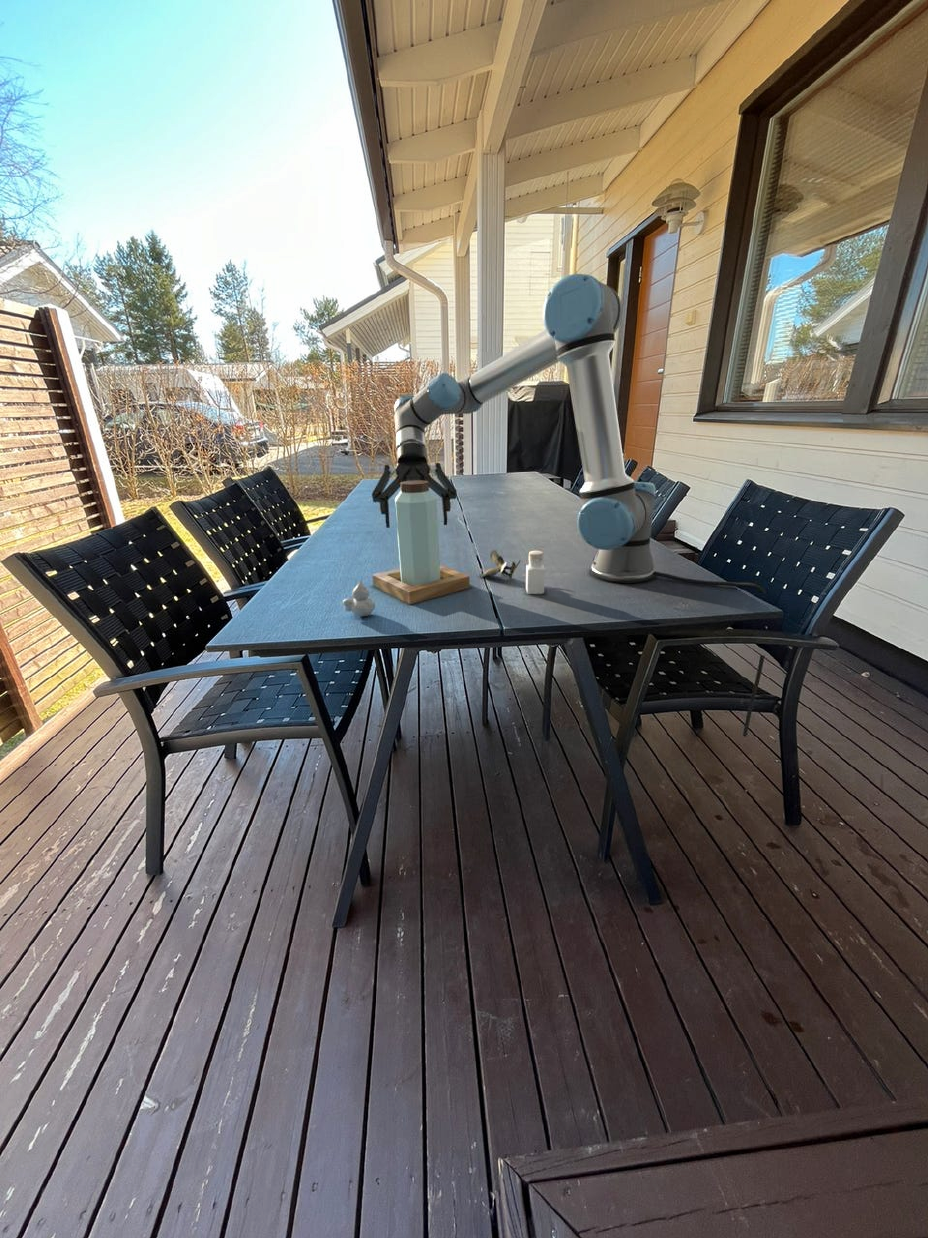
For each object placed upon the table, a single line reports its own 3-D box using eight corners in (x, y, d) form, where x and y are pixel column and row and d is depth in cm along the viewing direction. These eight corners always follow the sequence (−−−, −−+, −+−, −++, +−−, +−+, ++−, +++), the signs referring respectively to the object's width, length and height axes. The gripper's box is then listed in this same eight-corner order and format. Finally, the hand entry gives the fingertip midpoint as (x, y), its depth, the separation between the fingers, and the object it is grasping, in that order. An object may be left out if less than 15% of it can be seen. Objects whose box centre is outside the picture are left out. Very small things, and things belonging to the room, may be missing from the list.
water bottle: (435, 594, 123) (430, 485, 113) (394, 592, 124) (386, 485, 115) (445, 581, 132) (441, 479, 122) (407, 579, 134) (400, 479, 124)
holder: (469, 587, 126) (469, 576, 125) (410, 604, 117) (409, 591, 116) (430, 572, 139) (429, 561, 138) (373, 586, 130) (372, 574, 128)
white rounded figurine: (375, 619, 110) (372, 582, 107) (343, 621, 109) (339, 584, 106) (376, 609, 115) (373, 574, 112) (345, 611, 114) (341, 576, 111)
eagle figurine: (522, 570, 135) (492, 559, 139) (519, 552, 129) (488, 541, 133) (507, 592, 132) (477, 580, 136) (504, 574, 126) (472, 562, 130)
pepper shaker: (526, 594, 121) (527, 554, 117) (525, 589, 124) (526, 550, 121) (544, 594, 121) (545, 554, 117) (542, 589, 124) (543, 550, 121)
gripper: (460, 459, 136) (468, 529, 128) (363, 462, 134) (365, 534, 126) (461, 439, 129) (470, 511, 121) (359, 442, 127) (361, 516, 119)
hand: (416, 523), depth 123 cm, fingers open, 13 cm apart
